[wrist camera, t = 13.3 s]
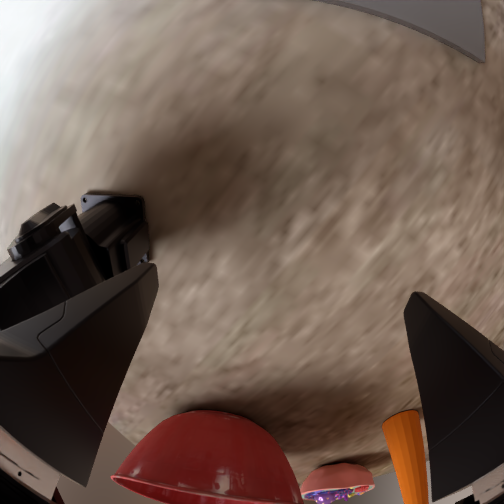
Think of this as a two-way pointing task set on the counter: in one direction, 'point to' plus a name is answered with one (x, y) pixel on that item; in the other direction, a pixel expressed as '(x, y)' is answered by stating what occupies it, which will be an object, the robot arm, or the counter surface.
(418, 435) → the spray bottle
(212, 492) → the mixing bowl
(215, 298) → the counter surface
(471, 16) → the socket board
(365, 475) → the cell model
